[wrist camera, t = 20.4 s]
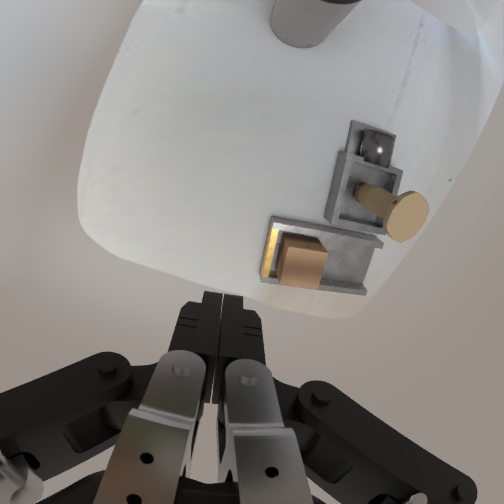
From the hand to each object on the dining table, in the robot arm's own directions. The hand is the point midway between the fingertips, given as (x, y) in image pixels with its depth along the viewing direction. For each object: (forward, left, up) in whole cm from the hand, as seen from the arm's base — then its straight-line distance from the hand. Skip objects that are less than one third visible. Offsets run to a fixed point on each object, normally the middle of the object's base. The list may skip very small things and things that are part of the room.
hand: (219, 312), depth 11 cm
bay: (+10, +16, -35) cm, 40 cm away
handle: (-2, +20, -34) cm, 40 cm away
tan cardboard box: (+10, +12, -34) cm, 37 cm away
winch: (-5, +20, -35) cm, 41 cm away
